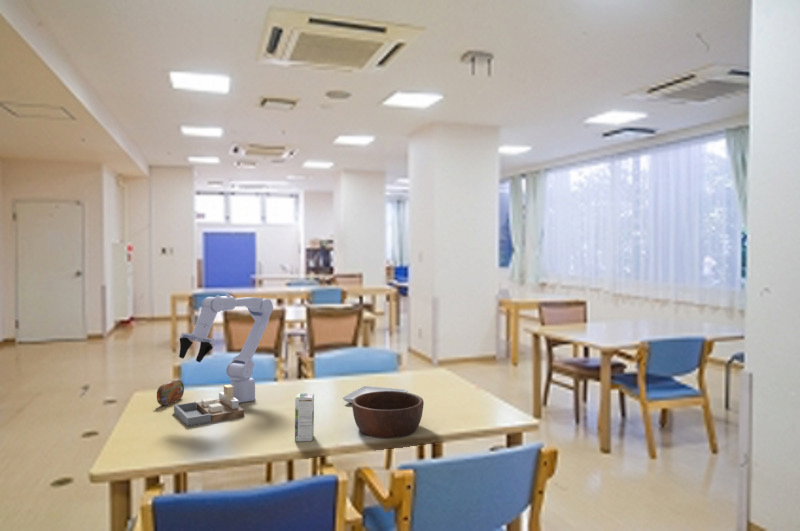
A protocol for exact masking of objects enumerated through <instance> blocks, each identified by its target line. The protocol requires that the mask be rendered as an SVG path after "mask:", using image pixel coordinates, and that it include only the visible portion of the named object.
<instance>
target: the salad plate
mask: <svg viewBox="0 0 800 531" xmlns="http://www.w3.org/2000/svg"><path fill="white" fill-rule="evenodd" d="M378 391H399V392H407V393H408V391H409V390H408V389H402V388H392V387H382V386H371V385H370V386H369V385H363V386H361V387H359V388H358V389H356V390H353V391H351V392H350V393H348V394H346V395H344V396H342V400H343V401H344V402H346V403H349V404H352V401H353V399H354V398H355V397H357V396H359V395H362V394H365V393H370V392H378Z"/></svg>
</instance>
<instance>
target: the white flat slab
mask: <svg viewBox="0 0 800 531" xmlns="http://www.w3.org/2000/svg"><path fill="white" fill-rule="evenodd" d="M218 399H219V400H220V401H222V402H223V403H224V404H226V405H227V406H229V407H230V408H231V409H238V408H239V407H240V403H239V400H237V399H236V398H234V387H233V386H232V385H231V384H225V385H223V391H219V392H218Z"/></svg>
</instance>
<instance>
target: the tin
mask: <svg viewBox="0 0 800 531" xmlns="http://www.w3.org/2000/svg"><path fill="white" fill-rule="evenodd" d="M184 385H185V384H184V383H183V381H181V380H180V379H177V380H175V379H174V380H171V381H169V382H166V383H164V384H161V385H160V386H159V387H158V388H157V391H156V401H157V403H158V404H159V405H160V406H169V405H168V404H170V405H172V404H174V403H176V402H178V401H180V400H181V399H182V398H183V396H184V393H185V387H184ZM179 399H180V400H179ZM177 400H178V401H177ZM175 401H176V402H175ZM173 402H174V403H173ZM171 403H172V404H171Z"/></svg>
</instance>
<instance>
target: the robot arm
mask: <svg viewBox="0 0 800 531" xmlns="http://www.w3.org/2000/svg"><path fill="white" fill-rule="evenodd" d="M200 304H201V309H200V314H199V316H198V319H197V321H196V323H195V325H194V328H193V330H192V332H191V333H189V332H187V333H186V332H181V334H180V336H179V344H180V346H179V347H180V349H179V355H178V357H179V358H180V359H184V358H185V357H186V355H187V353H188V350H189V348H190V347H191V346H192V344H193V343H194V342H198V343H200V344H199V345H200V346H199V349H198V353H197V356H196V359H195V362H198V363H201V362H202V360H203V359H204V358H205V356H207V354H209V353H210V351H212V350H213V348H214V346H215V345H216V342H217V340H216V339H214V338H210V337H209V334H210V332H211V329H212V326H213V324H214V321H215V319H216V317H217V315H218V313H221V312H222V311H224V312H225V311H233V310H234V309H235V308H236V307H244V306H245V308H247V310H248V312H249V314H250V315H251V317H252V319H253V320H254V323H253V324H252V327H251V329H250V331H249V333H248V335H247V337H246V340H245V342H244V344H243V345H242V348H241V351H240V352H239V354H238V355H236V356H234V357H233V358H232V360H231V361H230V362H229V363H228V365H227V366H226V370H225V371H226V375H227V376H228V378H229V380H230V385H232V386H233V387H234V398H236V399H237V400H239V404H242V403H246V402H251V401H256V383H255V379H254V378H253V377H252V376H253V372H254V366H255V363H254V361H253V358H254V355H255V353H256V351H257V348H258V347H259V345H260V342H261V340H262V338H263V335H264V333H265V331H266V329H267V327H268V325H269V321H270V319H271V318H270V316H271V315H272V313H273V311H274V306H273V302H272V301H271V299H269V298H263V297H254V296H253V297H252V296H246V297H238V298H235V297H234V296H233V295H231V294H225V295H222V296H221V295H215V297H214V296H207V297H205V298H204V299H203V300H201V303H200Z"/></svg>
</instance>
